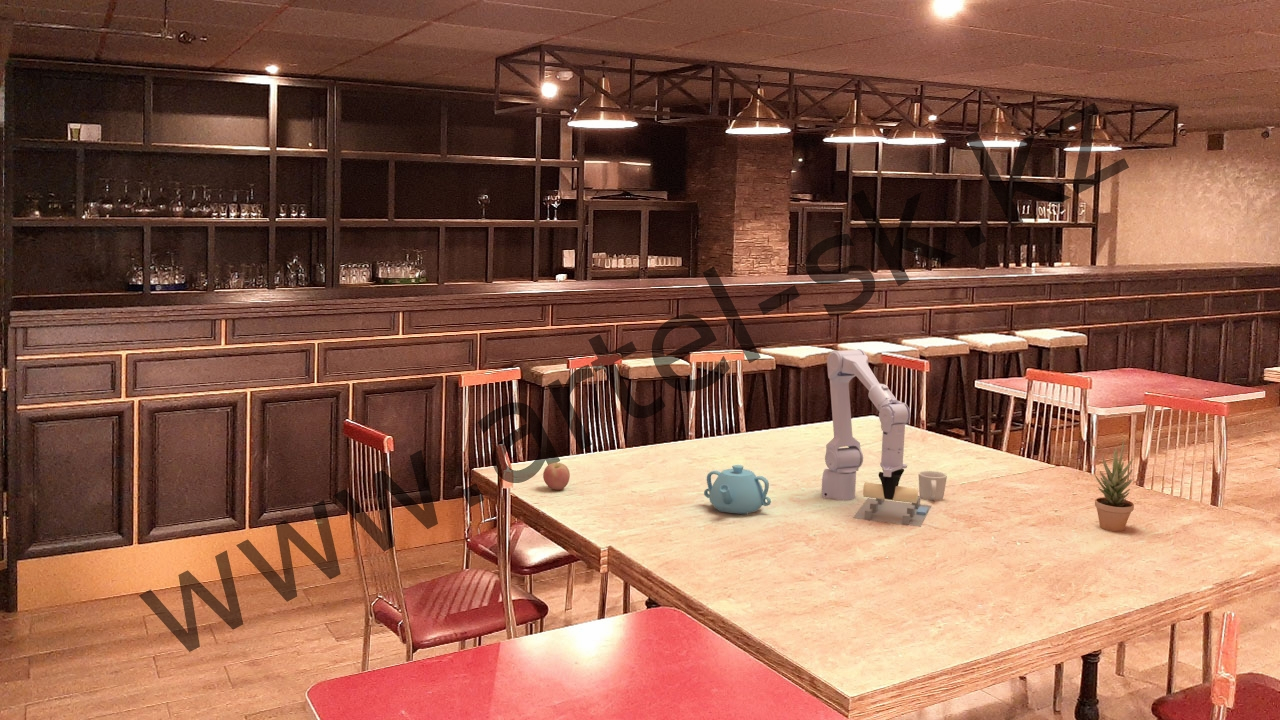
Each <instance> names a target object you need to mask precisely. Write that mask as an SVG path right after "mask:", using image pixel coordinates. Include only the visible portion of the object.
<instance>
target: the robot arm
mask: <svg viewBox="0 0 1280 720" xmlns="http://www.w3.org/2000/svg"><path fill="white" fill-rule="evenodd" d="M826 366H827V377H828V379H829V387H830V389H829V391H830V401H831V402H830V403H831V413H832V414H831V415H832V417H831V418H832V427H833V428H832V429H833V438H831V440H830V441H828V443H827V444H826V445H825V446H826V451H825V455H824V462H825V466H827V468H824V470H823V473H822V479H821V498H822V499H823V498H824V499H830V500H836V501H844V502H845V501H847V502H848V501H854V500H855V499H856V484H857V483H856V482H857V481H856V480H857V472H858V471H859V468H861V467H862V465H863V462H864V455H863V452H862V449H861V443H860V441H859V440H857V439H856V438H855V437H854V436H853V425H852V412H851V411H852V410H851V400H850V399H851V398H850V385H849V384H850V382H851V380H852V379H853V378H855V377H856V378H857V379H858V380H859V381H860V383H861V384H862V385H863V386H864V387H865V389H867V390H868V395H867V396H868V399H869V400H870V401H871V402H872V404H873V405H874V407H875V408H876V410H877V411H878V419H879V422H880V429H881V431H882V437H881V438H882V440H881V441H882V442H881V456H880V457H881V458H880V459H881V460H880V463H879V465H880V468H881V469H882V471H879V472H878V477H879V481H880V484H882V486H883V493H884V498H885V499H891V500H890V501H893V500H892V499H893V497H894V493H895V488H896V486H899V483H900V481H901V477H902V476H903V474H904V472H905V469H907V468H908V464H904V452H905V451H904V450H905V449H904V448H905V433H906V431H905V430H906V425H907V424H909V422H910V419H911V410H910V408H909V406H908V404H907V403H905V402H901V401H900V400H898V399H897V398H896V397H895V395H894V394H893V393H892V391H891V390H890V389H889V386H888V385H886V384H884V383H880V382H879V381H878V379H877V377H876V376H875V374H874V373H873V370H872V369H871V368H870V365H869V356H868V355H867V354H866V353H865V351H864V350H863V349H850V350H849V349H848V350H847V349H846V350H836V349H835V350H832V351H831V352H830V353H829V355H828V356H827V358H826Z"/></svg>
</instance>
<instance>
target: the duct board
mask: <svg viewBox="0 0 1280 720" xmlns="http://www.w3.org/2000/svg"><path fill="white" fill-rule="evenodd" d="M920 497H921V496H920V495H918V499H917V503H909V502H901V501H893V500H885V499H876V498H868V497H867V499H866V500H865V502H863V504H862V505H861V506H860V507H859V509H858V510H857V512H856V513H854V515H853V516H852V519H857V520H865V521H871V522H881V523H888V524H895V525H903V526H904V525H905V526H913V527H918V528H920V527H922V525H923V523H924V522H925V520H926V517H927V515H928V513H929V512H930V510H931V508H932V505H928V504H921V498H920Z"/></svg>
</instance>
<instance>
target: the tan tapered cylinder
mask: <svg viewBox="0 0 1280 720" xmlns="http://www.w3.org/2000/svg"><path fill="white" fill-rule="evenodd" d="M918 488H919V487H918ZM918 488H916V487H907V486H899V485H898V486H896V488H895V493H894V497H893V499H892V500H891V499H885V498H884V493H883V486H882V483H874V482H868V481H867V482H865V481H864V483H863V487H862V496H863V498H867V499H868V498H871V499H885V500H887V501H896V502H904V503H917V499H918V496H919V489H918Z"/></svg>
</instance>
